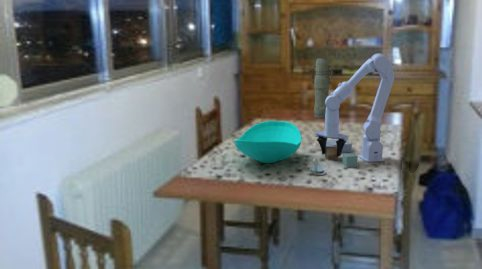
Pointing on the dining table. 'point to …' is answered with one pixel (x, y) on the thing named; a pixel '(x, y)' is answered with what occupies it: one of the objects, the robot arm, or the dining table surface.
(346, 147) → the slate base block
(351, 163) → the green block
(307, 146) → the dining table surface
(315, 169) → the pacifier
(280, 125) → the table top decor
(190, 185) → the dining table surface
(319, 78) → the thermos
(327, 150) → the walnut block
